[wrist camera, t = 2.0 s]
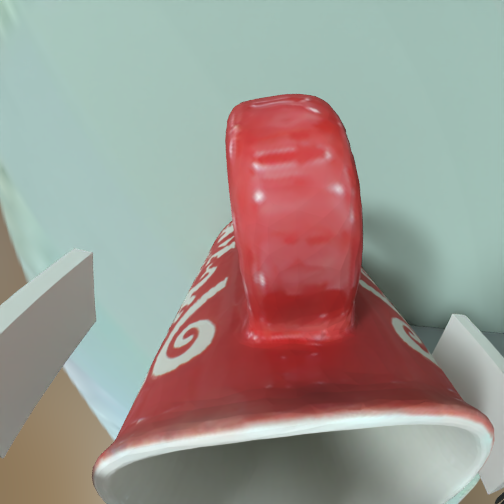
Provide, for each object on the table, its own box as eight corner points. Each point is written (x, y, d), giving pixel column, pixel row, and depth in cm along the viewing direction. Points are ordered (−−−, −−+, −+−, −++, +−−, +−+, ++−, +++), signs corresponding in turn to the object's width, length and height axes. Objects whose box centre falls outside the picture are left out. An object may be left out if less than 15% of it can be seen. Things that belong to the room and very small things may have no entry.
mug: (348, 333, 19) (411, 536, 6) (204, 337, 19) (155, 548, 7) (364, 120, 14) (618, 138, 2) (182, 122, 14) (-68, 131, 2)
